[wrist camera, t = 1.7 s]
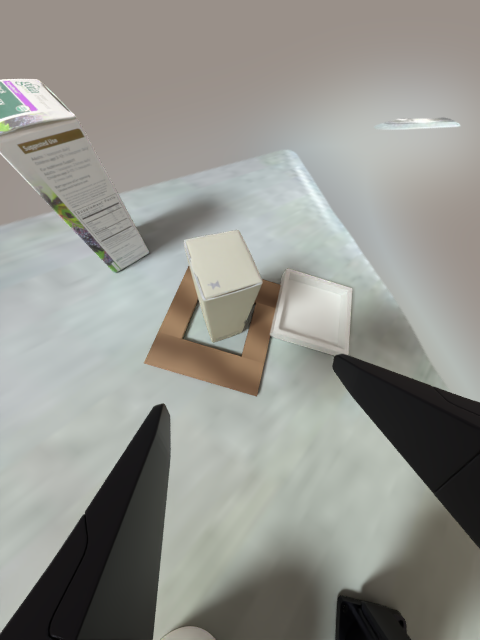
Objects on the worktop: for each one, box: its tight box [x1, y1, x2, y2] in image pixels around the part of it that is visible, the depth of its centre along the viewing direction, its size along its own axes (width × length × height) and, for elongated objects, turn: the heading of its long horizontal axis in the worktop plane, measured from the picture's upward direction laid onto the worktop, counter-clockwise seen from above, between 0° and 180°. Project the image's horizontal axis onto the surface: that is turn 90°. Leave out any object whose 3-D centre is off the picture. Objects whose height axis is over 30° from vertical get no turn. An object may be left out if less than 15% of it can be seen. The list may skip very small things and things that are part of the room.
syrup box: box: [0, 79, 149, 273], centre depth 18 cm, size 6×6×14 cm
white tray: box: [270, 268, 352, 356], centre depth 24 cm, size 10×10×2 cm
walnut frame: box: [144, 266, 281, 396], centre depth 23 cm, size 16×14×1 cm
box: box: [184, 230, 263, 343], centre depth 17 cm, size 5×4×13 cm
